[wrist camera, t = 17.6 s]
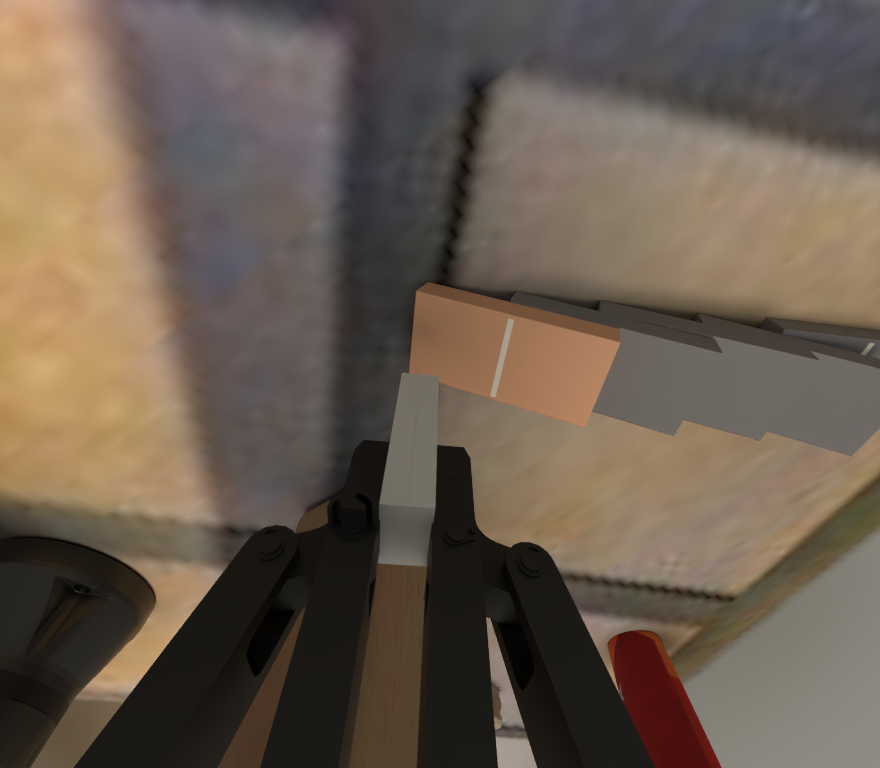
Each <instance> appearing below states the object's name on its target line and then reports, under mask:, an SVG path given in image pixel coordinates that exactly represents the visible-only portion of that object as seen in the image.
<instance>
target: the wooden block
mask: <svg viewBox="0 0 880 768" xmlns="http://www.w3.org/2000/svg"><path fill="white" fill-rule="evenodd" d="M330 500H331V499H330ZM330 500H328V501H327V502H325V503H323V504H321V505H319V506H317V507H315V508H313V509H311V510H309V511H308V512H307V513H306V514H305V515H304V516H303V517H302V518H301V520H300V521H299V523H298V526H297V529H296V531H295V534H296V533H300V532H305V531H310V530H313V529H316V528H319V527H321V526H323V525H325V524H327V523H328V514H327V506H328V504H329V502H330ZM426 577H427V567H424V566H409V565H395V564H380V563H378V565H377V572H376V587H375V594H374V601H373V608H372V614H371V621H370V628H369V635H368V641H367V648H366V655H365V662H364V668H363V675H362V682H361V689H360V696H359V702H358V709H357V716H356V723H355V729H354V736H353V743H352V750H351V756H350V763H349V768H417V750H418V728H419V707H420V686H421V664H422V643H423V622H424V601H425V600H424V599H423V598H424V591H425V584H426ZM305 608H306V607H304V608H303V610H302V611H301V613H300V615H299V617H298V619H297V621H296V623H295V624H294V626H293V628H292V630H291V632H290V634H289V636H288V637H287V639H286V641H285V643H284V645H283V647H282V649H281V650H280V652H279V654H278V656H277V658H276V660H275V662H274V663H273V665H272V667H271V669H270V671H269V673H268V675H267V676H266V678H265V680H264V682H263V684H262V686H261V688H260V689H259V691H258V693H257V695H256V697H255V699H254V701H253V702H252V704H251V706H250V708H249V710H248V712H247V714H246V715H245V717H244V719H243V721H242V723H241V725H240V727H239V728H238V730H237V732H236V734H235V736H234V738H233V740H232V741H231V743H230V745H229V747H228V749H227V751H226V753H225V755H224V756H223V758H222V760H221V762H220V764H219V766H218V768H260V766H261V762H262V759H263V755H264V752H265V748H266V745H267V741H268V738H269V734H270V731H271V727H272V724H273V720H274V717H275V713H276V710H277V706H278V703H279V699H280V696H281V692H282V689H283V685H284V682H285V678H286V675H287V671H288V668H289V664H290V661H291V657H292V654H293V650H294V647H295V643H296V640H297V636H298V633H299V629H300V626H301V622H302V619H303V615H304V611H305Z"/></svg>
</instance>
